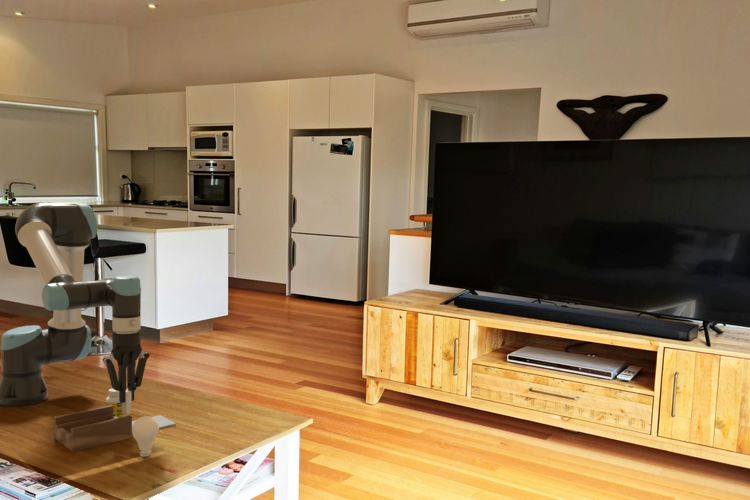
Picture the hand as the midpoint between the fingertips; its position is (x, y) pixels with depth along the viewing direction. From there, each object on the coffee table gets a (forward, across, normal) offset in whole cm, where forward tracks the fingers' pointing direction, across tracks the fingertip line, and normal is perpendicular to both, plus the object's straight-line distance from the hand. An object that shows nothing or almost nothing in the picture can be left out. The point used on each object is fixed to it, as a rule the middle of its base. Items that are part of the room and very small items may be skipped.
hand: (126, 412), depth 194 cm
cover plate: (+7, +6, 0) cm, 9 cm away
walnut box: (+6, -10, 0) cm, 11 cm away
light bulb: (+6, -4, -20) cm, 21 cm away
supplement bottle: (+6, +2, +12) cm, 13 cm away
